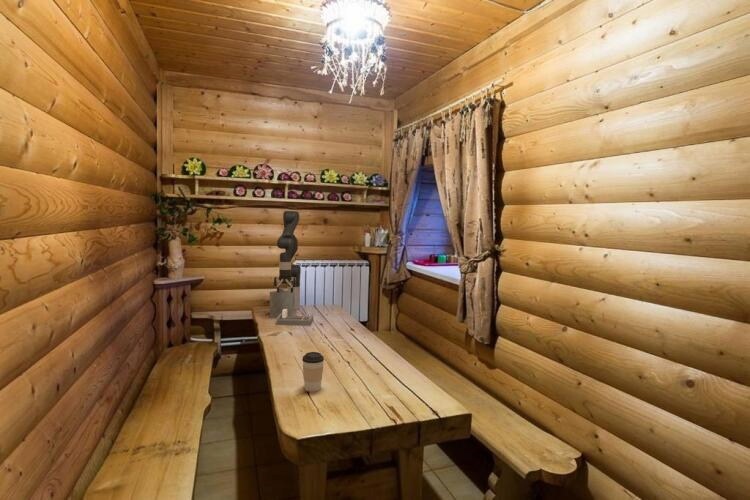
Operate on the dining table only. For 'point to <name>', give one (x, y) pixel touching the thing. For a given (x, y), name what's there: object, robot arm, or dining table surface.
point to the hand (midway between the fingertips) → (284, 292)
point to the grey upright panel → (281, 302)
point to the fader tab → (284, 313)
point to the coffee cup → (312, 371)
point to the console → (295, 320)
